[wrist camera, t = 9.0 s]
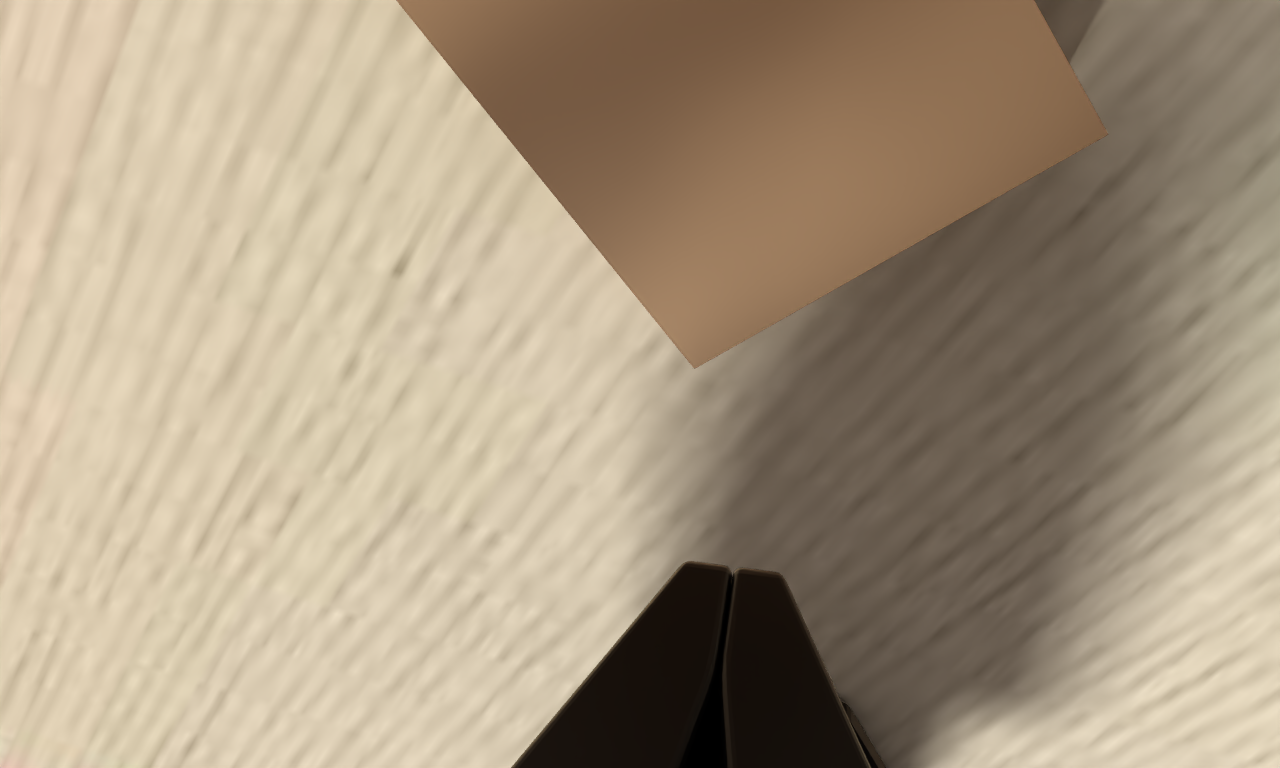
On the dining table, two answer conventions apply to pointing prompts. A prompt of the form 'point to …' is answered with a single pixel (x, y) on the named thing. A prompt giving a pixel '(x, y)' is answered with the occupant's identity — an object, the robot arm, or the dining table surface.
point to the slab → (764, 133)
